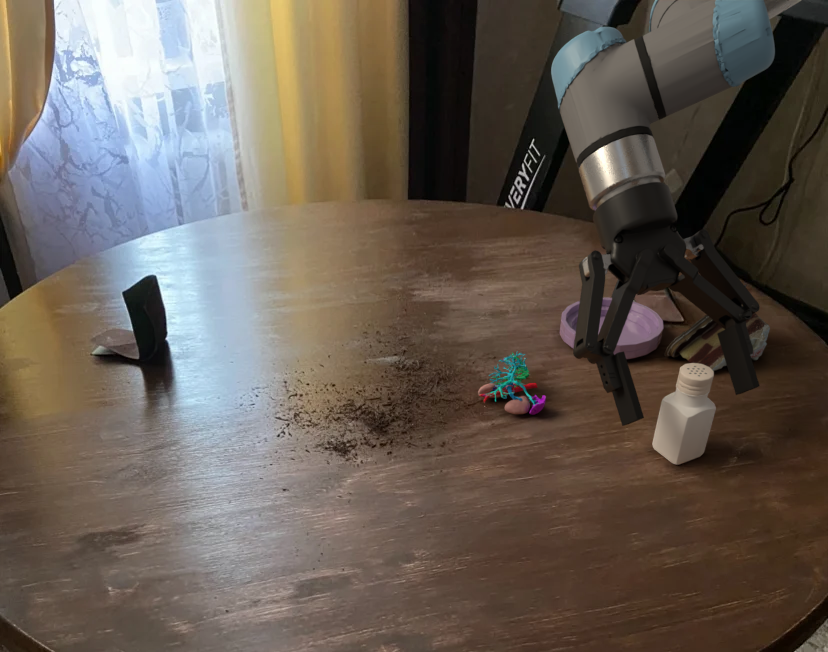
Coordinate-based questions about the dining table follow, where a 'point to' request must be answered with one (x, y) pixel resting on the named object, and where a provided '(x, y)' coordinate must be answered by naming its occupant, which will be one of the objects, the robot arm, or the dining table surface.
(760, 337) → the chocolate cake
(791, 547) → the dining table surface
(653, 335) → the dish
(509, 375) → the anatomy model
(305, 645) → the dining table surface
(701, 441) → the pepper shaker
